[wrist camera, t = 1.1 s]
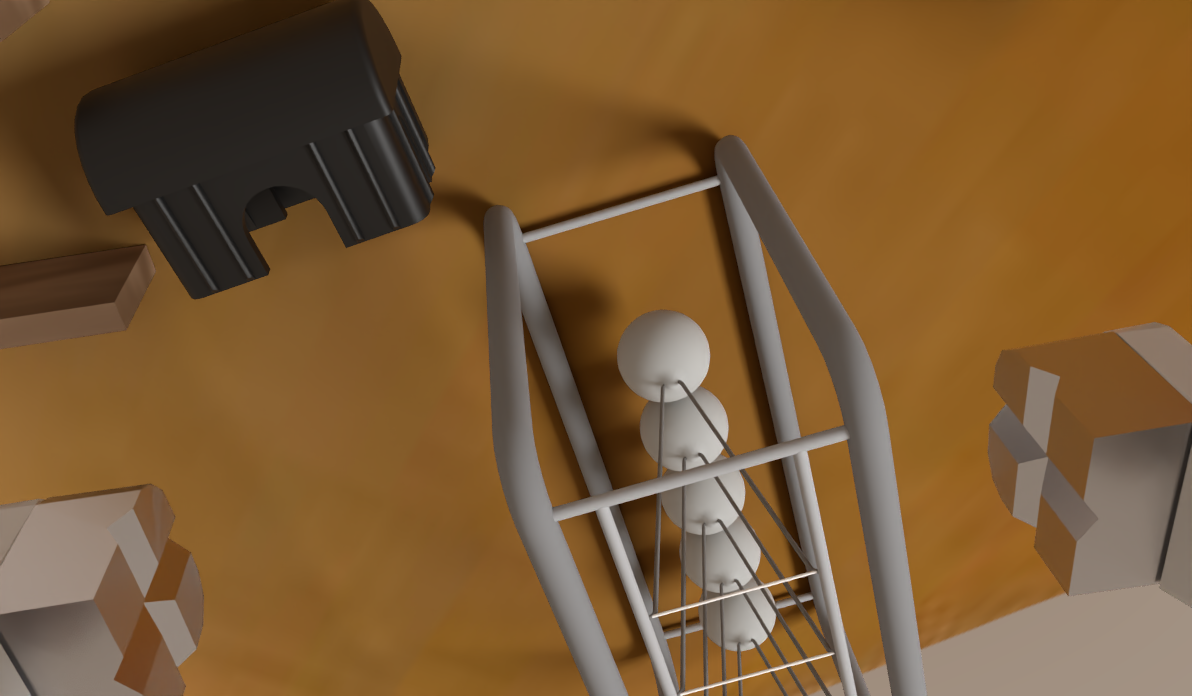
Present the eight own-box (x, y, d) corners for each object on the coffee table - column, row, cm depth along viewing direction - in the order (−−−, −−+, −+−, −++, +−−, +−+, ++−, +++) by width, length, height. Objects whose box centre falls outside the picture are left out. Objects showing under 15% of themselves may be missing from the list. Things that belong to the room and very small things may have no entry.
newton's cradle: (835, 610, 58) (964, 936, 43) (653, 660, 58) (719, 998, 43) (731, 113, 41) (884, 364, 26) (478, 190, 42) (489, 477, 27)
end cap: (367, -34, 37) (350, 20, 31) (444, 145, 40) (442, 222, 35) (108, 62, 37) (46, 132, 32) (209, 228, 41) (169, 317, 36)
